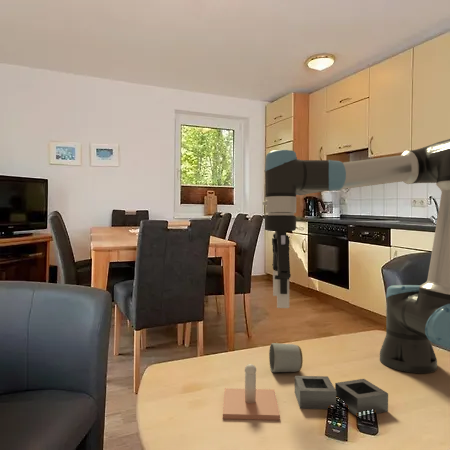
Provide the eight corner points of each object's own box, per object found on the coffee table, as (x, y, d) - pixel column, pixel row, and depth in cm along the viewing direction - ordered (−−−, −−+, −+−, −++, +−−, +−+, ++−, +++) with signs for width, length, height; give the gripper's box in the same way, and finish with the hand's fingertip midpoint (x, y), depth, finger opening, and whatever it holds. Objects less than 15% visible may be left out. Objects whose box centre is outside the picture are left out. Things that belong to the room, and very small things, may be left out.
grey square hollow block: (363, 395, 90) (364, 378, 90) (387, 411, 82) (388, 393, 82) (335, 400, 87) (335, 382, 87) (357, 417, 80) (357, 398, 80)
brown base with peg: (274, 393, 90) (274, 355, 90) (279, 420, 78) (280, 375, 78) (224, 392, 91) (224, 354, 91) (222, 418, 79) (222, 374, 79)
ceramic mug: (304, 375, 101) (304, 347, 101) (274, 376, 100) (274, 348, 100) (293, 361, 111) (293, 335, 111) (266, 362, 110) (266, 336, 111)
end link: (327, 392, 91) (327, 376, 91) (336, 409, 83) (336, 391, 83) (294, 392, 91) (294, 375, 91) (300, 408, 83) (300, 390, 83)
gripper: (263, 215, 104) (263, 291, 104) (267, 213, 79) (267, 313, 79) (290, 215, 104) (290, 291, 104) (303, 213, 79) (303, 314, 79)
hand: (280, 301), depth 92 cm, fingers open, 13 cm apart
